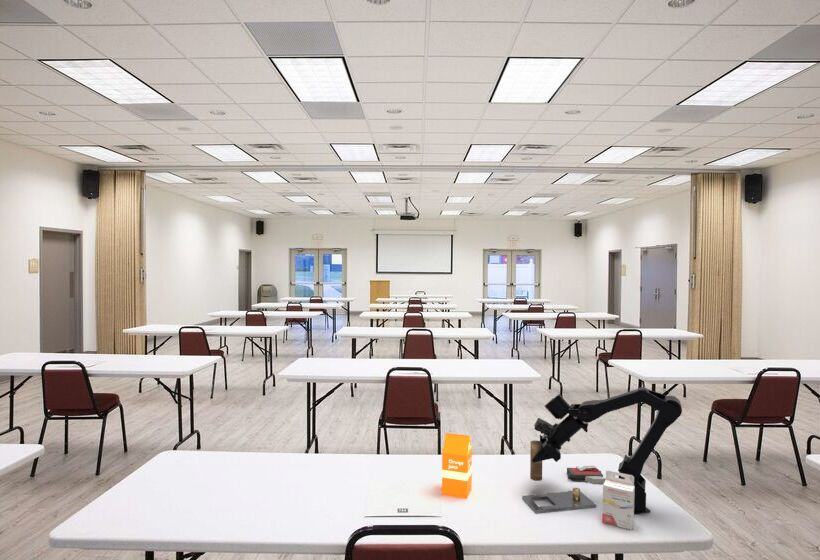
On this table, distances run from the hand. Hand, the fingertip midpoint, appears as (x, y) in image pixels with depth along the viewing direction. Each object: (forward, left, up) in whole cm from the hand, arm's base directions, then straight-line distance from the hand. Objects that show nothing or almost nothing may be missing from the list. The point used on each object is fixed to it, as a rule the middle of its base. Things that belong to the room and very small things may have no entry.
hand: (532, 459), depth 167 cm
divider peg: (-1, -1, -7) cm, 7 cm away
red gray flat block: (+5, -27, -12) cm, 30 cm away
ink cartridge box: (-25, -16, -11) cm, 32 cm away
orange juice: (+4, +26, -11) cm, 28 cm away
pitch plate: (-10, -5, -11) cm, 16 cm away
